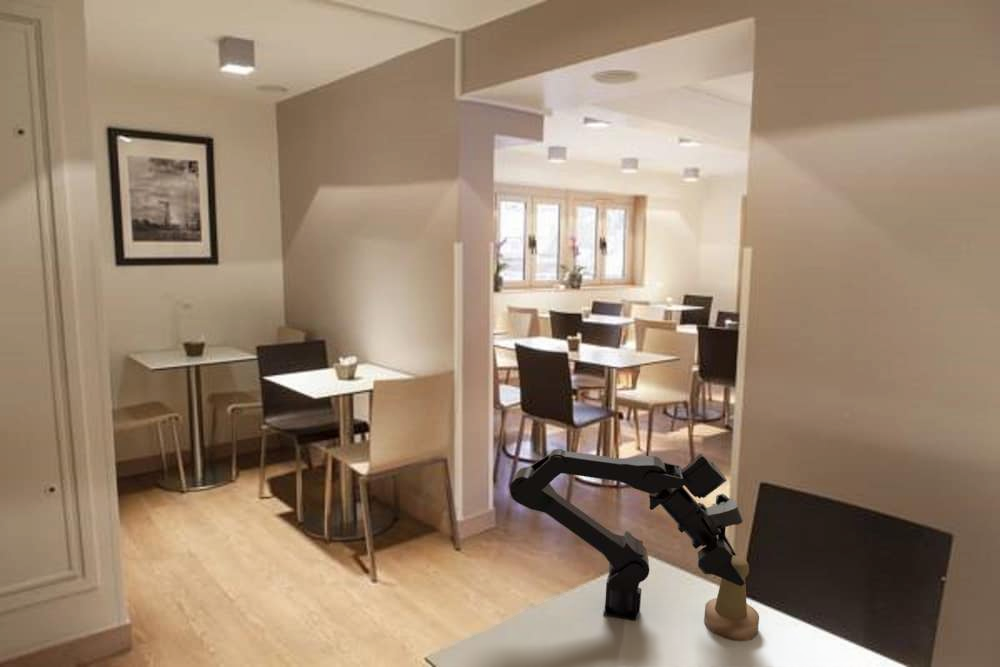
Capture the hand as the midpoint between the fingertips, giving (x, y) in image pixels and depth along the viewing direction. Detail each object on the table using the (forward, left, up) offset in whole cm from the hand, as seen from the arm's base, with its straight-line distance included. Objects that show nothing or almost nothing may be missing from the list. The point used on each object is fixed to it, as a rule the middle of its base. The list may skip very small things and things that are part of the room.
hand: (740, 572), depth 127 cm
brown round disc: (-1, 0, -11) cm, 11 cm away
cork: (-1, 0, -8) cm, 8 cm away
